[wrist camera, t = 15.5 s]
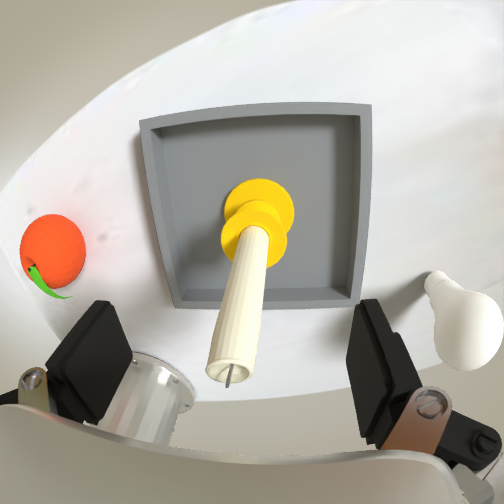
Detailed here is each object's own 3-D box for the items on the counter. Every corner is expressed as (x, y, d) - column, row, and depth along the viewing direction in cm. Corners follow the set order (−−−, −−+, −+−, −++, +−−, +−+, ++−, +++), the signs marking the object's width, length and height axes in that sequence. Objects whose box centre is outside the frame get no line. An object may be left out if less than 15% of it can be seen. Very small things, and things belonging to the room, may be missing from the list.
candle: (306, 222, 22) (342, 403, 8) (249, 254, 23) (213, 436, 9) (270, 164, 20) (251, 288, 6) (211, 201, 21) (109, 354, 8)
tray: (352, 289, 25) (358, 306, 22) (182, 292, 26) (174, 308, 24) (361, 105, 18) (371, 104, 15) (153, 119, 19) (138, 120, 17)
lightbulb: (465, 273, 23) (522, 345, 13) (423, 313, 25) (464, 395, 15) (438, 236, 21) (507, 309, 12) (392, 282, 24) (437, 373, 14)
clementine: (116, 262, 26) (77, 304, 19) (77, 282, 27) (41, 320, 21) (75, 191, 23) (24, 219, 16) (40, 221, 25) (-3, 250, 18)
